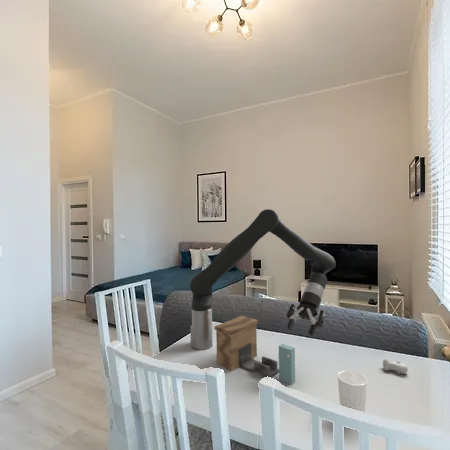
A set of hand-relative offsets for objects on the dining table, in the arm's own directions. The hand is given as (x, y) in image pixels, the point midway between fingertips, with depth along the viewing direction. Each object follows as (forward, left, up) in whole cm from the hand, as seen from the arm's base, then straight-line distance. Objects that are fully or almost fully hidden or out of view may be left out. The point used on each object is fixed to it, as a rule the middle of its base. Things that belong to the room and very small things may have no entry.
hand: (299, 332), depth 108 cm
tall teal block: (-4, -9, -14) cm, 17 cm away
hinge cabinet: (-19, -2, -14) cm, 24 cm away
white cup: (+16, -20, -14) cm, 30 cm away
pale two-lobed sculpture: (+34, +9, -15) cm, 38 cm away
